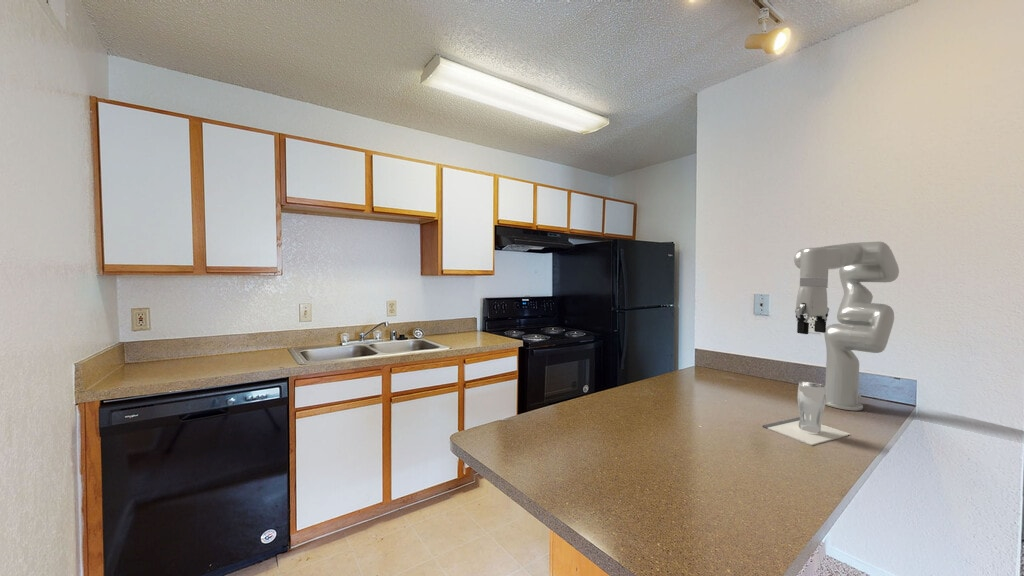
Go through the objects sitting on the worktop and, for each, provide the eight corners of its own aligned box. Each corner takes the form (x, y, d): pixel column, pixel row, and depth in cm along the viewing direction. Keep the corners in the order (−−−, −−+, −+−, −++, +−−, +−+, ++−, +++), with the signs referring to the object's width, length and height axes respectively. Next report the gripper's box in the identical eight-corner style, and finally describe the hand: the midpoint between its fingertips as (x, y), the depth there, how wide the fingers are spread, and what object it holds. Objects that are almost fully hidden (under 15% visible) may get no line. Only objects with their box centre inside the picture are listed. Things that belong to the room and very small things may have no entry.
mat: (800, 418, 129) (800, 417, 129) (850, 435, 116) (850, 433, 116) (762, 426, 122) (762, 425, 122) (811, 445, 108) (811, 444, 108)
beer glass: (813, 426, 121) (815, 381, 121) (829, 436, 114) (832, 388, 114) (791, 425, 122) (792, 381, 121) (806, 435, 115) (808, 387, 114)
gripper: (816, 283, 134) (814, 330, 135) (785, 283, 127) (783, 332, 128) (841, 283, 127) (839, 333, 128) (810, 283, 120) (808, 336, 121)
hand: (811, 332), depth 128 cm, fingers open, 9 cm apart
